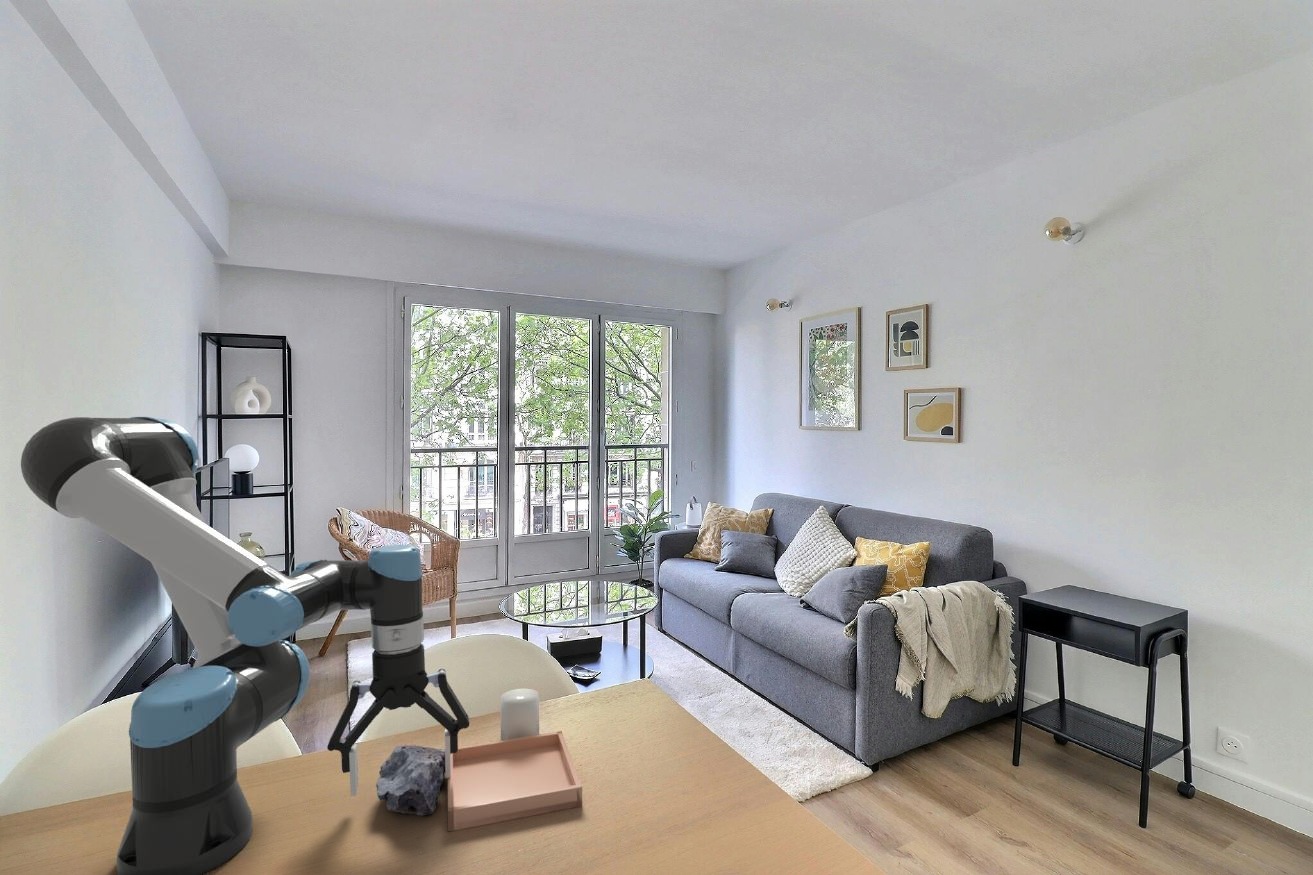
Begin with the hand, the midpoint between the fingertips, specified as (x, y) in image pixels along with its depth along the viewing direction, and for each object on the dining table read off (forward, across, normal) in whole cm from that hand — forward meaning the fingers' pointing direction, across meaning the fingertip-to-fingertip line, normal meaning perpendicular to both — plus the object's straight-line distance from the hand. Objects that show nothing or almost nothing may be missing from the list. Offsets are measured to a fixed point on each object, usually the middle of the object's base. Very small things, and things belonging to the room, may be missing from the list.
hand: (403, 782), depth 100 cm
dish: (+3, +16, -1) cm, 17 cm away
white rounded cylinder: (+3, +20, +14) cm, 24 cm away
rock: (+3, +1, 0) cm, 4 cm away
